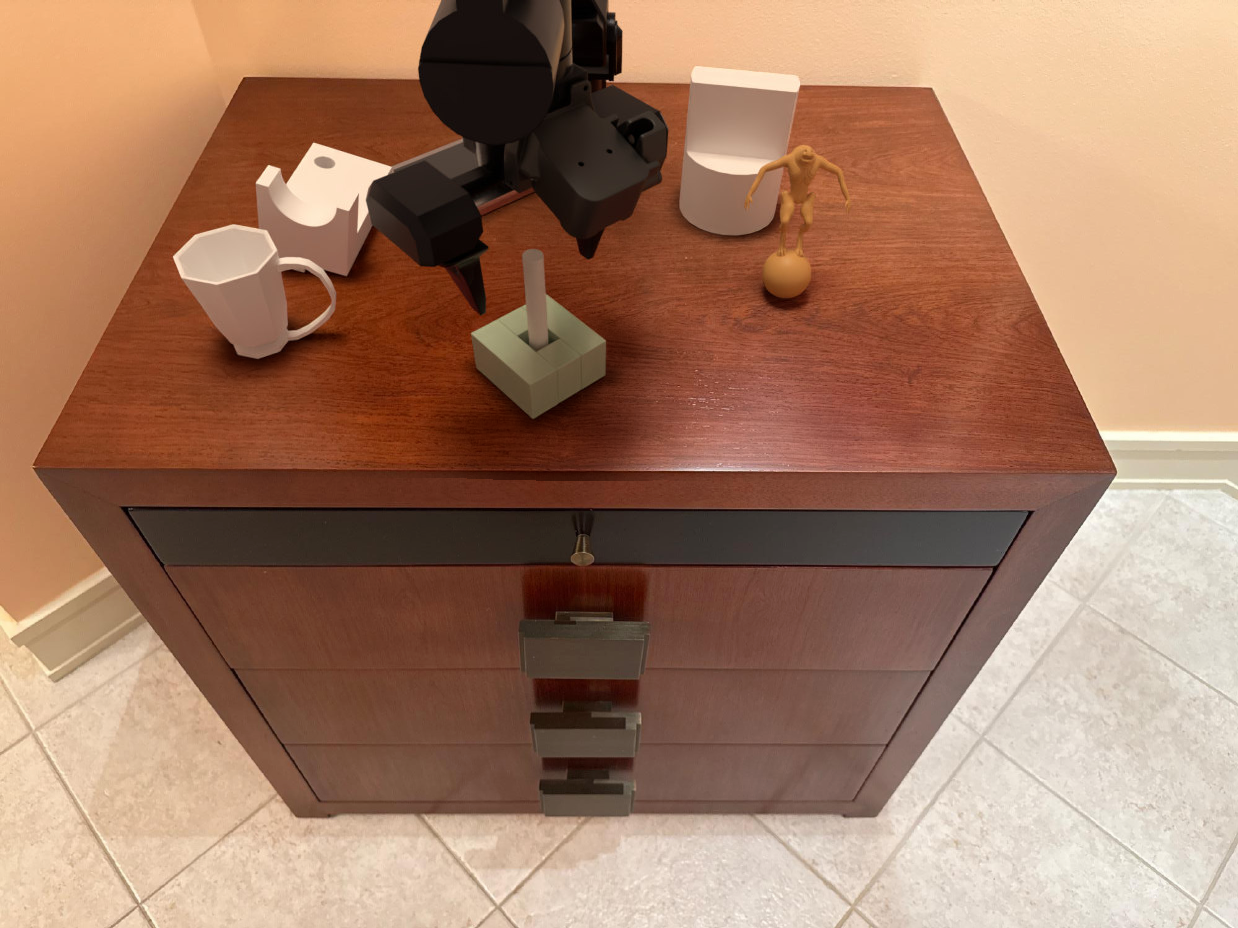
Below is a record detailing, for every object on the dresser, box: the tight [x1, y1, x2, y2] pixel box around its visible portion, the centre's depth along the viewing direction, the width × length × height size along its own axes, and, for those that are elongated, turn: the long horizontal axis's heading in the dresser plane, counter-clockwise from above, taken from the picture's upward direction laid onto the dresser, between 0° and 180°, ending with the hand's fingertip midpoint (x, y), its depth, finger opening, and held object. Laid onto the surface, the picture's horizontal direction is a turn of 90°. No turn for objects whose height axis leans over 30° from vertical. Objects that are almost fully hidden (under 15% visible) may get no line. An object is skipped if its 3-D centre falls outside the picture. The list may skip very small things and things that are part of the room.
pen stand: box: [470, 293, 607, 420], centre depth 60 cm, size 7×7×4 cm
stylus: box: [521, 248, 549, 352], centre depth 57 cm, size 1×1×11 cm
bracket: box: [255, 142, 392, 277], centre depth 69 cm, size 13×7×8 cm, turn 174°
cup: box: [172, 223, 337, 360], centre depth 60 cm, size 7×10×8 cm
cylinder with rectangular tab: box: [678, 65, 801, 236], centre depth 71 cm, size 9×9×12 cm
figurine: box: [744, 144, 851, 299], centre depth 64 cm, size 8×6×12 cm
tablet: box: [390, 137, 535, 217], centre depth 78 cm, size 14×11×1 cm
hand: (534, 283), depth 55 cm, fingers open, 9 cm apart
